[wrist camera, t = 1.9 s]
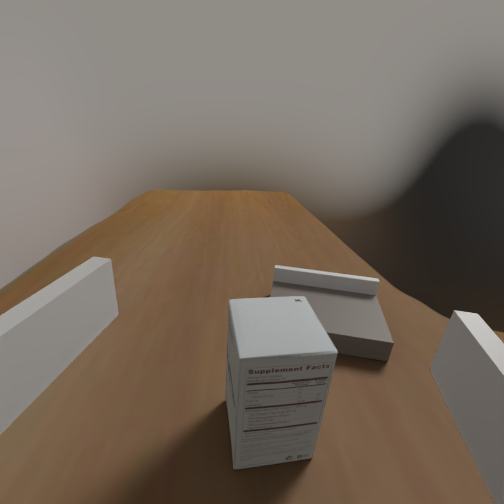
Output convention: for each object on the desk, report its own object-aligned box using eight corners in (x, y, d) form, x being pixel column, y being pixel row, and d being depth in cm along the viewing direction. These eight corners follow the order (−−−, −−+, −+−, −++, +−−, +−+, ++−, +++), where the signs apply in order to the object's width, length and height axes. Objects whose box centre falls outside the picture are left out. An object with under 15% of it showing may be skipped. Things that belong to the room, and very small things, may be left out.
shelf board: (369, 306, 49) (377, 277, 47) (387, 361, 38) (398, 327, 36) (272, 292, 51) (275, 264, 49) (262, 340, 40) (265, 306, 38)
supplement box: (223, 398, 32) (227, 296, 26) (291, 391, 33) (307, 293, 28) (230, 473, 25) (236, 358, 20) (315, 462, 26) (341, 350, 21)
